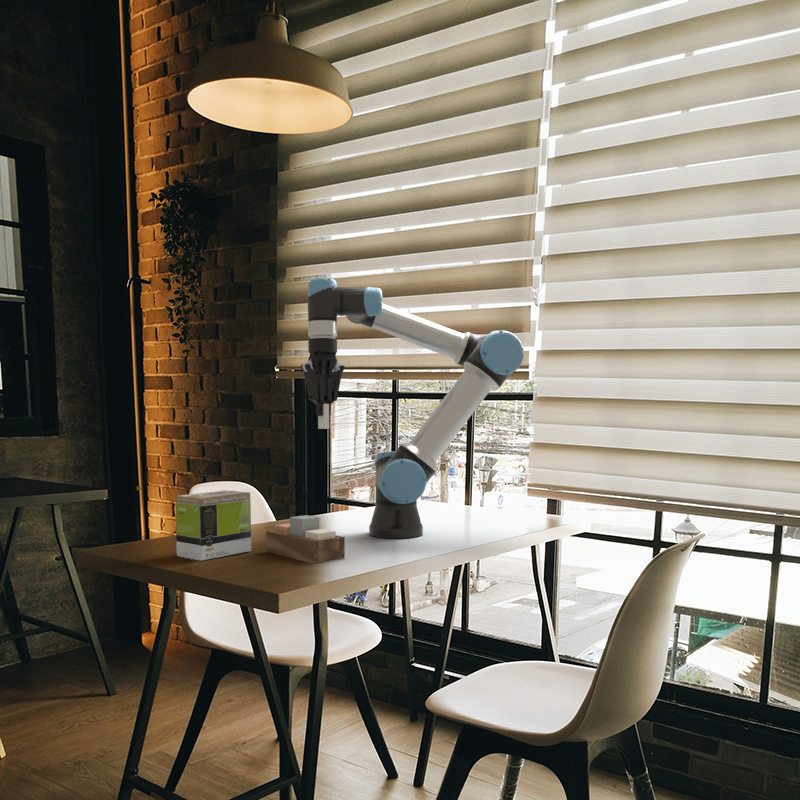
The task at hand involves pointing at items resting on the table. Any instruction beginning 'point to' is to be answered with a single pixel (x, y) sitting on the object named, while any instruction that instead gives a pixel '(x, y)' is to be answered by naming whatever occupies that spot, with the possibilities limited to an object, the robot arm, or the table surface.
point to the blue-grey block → (303, 524)
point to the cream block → (320, 534)
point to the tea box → (213, 524)
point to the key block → (305, 547)
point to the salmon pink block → (283, 528)
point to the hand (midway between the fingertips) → (323, 428)
